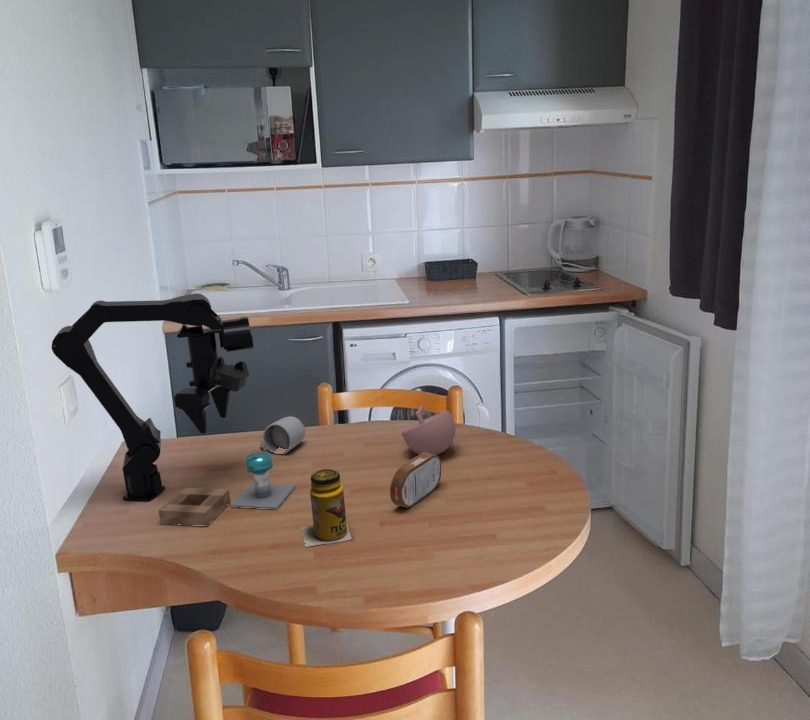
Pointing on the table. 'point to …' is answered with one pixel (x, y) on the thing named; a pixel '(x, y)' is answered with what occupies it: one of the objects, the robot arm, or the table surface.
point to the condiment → (326, 510)
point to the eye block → (194, 506)
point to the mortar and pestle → (430, 433)
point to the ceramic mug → (283, 434)
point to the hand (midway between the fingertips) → (213, 425)
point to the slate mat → (272, 501)
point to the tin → (415, 479)
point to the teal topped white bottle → (260, 472)
